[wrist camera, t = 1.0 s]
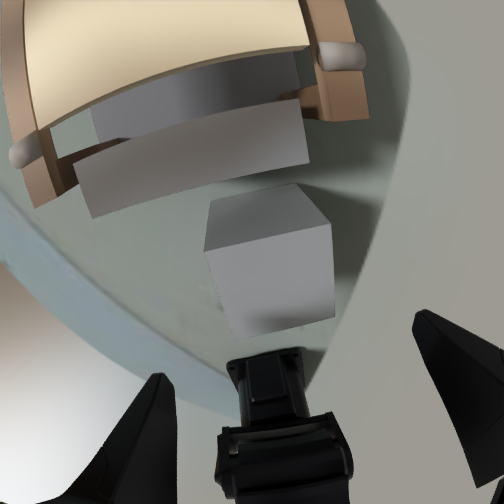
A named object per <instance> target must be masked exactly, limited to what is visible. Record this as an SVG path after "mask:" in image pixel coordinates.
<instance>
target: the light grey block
mask: <svg viewBox="0 0 504 504" xmlns="http://www.w3.org/2000/svg"><path fill="white" fill-rule="evenodd" d="M204 254H205V257H206V260H207V263H208V266H209V269H210V272H211V275H212V278H213V281H214V284H215V287H216V290H217V293H218V295H219V298H220V301H221V304H222V307H223V310H224V312H225V315H226V318H227V321H228V323H229V326H230V329H231V332H232V334H233V337H234V340H237V339H242V338H248V337H252V336H257V335H262V334H267V333H271V332H276V331H280V330H285V329H289V328H293V327H297V326H301V325H305V324H309V323H313V322H317V321H321V320H325V319H329V318H332V317H335V285H334V262H333V245H332V230H331V223H330V222H329V221H328V219H327V218H326V217H325V216H324V215H323V214H322V212H321V211H320V210H319V209H318V208H317V207H316V206H315V204H314V203H313V202H312V201H311V200H310V199H309V198H308V197H307V195H306V194H305V193H304V192H303V191H302V190H301V189H300V188H299V187H298V186H297V184H296V183H293V184H288V185H283V186H278V187H273V188H268V189H263V190H259V191H254V192H250V193H245V194H241V195H236V196H232V197H228V198H224V199H219V200H215V201H211V202H210V209H209V216H208V223H207V230H206V238H205V245H204Z"/></svg>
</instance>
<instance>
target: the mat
mask: <svg viewBox="0 0 504 504" xmlns="http://www.w3.org/2000/svg"><path fill="white" fill-rule="evenodd" d="M298 89H301V85H300V80H299V75H298V70H297V66H296V61H295V57H294V53H293V51H291V52H281V53H272V54H264V55H257V56H251V57H245V58H239V59H234V60H229V61H224V62H219V63H215V64H210V65H206V66H202V67H198V68H194V69H191V70H187V71H183V72H180V73H177V74H173V75H170V76H167V77H164V78H161V79H158V80H155V81H152V82H149V83H146V84H143V85H141V86H138V87H135V88H133V89H130V90H128V91H125V92H123V93H120V94H118V95H115V96H113V97H111V98H108V99H106V100H104V101H102V102H100V103H97V104H95V105H93V106H91V107H90V109H91V113H92V117H93V121H94V125H95V128H96V132H97V136H98V139H99V143H103V142H106V141H109V140H112V139H116V138H119V142H120V143H123V142H125V141H128V140H131V139H133V138H136V137H139V136H142V135H145V134H147V133H150V132H153V131H156V130H159V129H163V128H166V127H169V126H172V125H176V124H179V123H182V122H186V121H189V120H193V119H197V118H201V117H204V116H208V115H212V114H217V113H221V112H225V111H230V110H234V109H239V108H244V107H249V106H254V105H260V104H265V103H271V102H278V101H281V98H280V95H281V94H284V93H287V92H291V91H294V90H298Z"/></svg>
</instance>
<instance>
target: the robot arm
mask: <svg viewBox="0 0 504 504" xmlns="http://www.w3.org/2000/svg"><path fill="white" fill-rule="evenodd" d="M412 333H413V336H414V338H415V340H416V343H417V345H418V348H419V350H420V353H421V355H422V358H423V360H424V363H425V365H426V368H427V370H428V372H429V374H430V376H431V378H432V380H433V382H434V384H435V386H436V388H437V390H438V392H439V394H440V396H441V398H442V400H443V403H444V405H445V407H446V409H447V412H448V414H449V416H450V418H451V420H452V423H453V425H454V427H455V430H456V432H457V435H458V437H459V440H460V443H461V445H462V448H463V449H464V453H465V456H466V459H467V462H468V464H469V467H470V470H471V473H472V476H473V479H474V482H475V485H476V488H479V487H481V486H483V485H485V484H487V483H489V482H491V481H493V480H495V479H497V478H498V477H500V476H502V475H504V350H503V349H501V348H500V349H499V348H498V347H497V346H495V345H493V344H492V343H489V342H488V341H486V340H484V339H482V338H480V337H479V336H477V335H475V334H473V333H471V332H469V331H467V330H465V329H464V328H462V327H460V326H458V325H456V324H454V323H452V322H451V321H449V320H447V319H445V318H443V317H441V316H439V315H437V314H435V313H433V312H431V311H429V310H427V309H423V310H421V311H418V312H417V313H416V314H415V318H414V322H413V326H412ZM226 368H227V371H228V373H229V375H230V377H231V379H232V381H233V384H234V386H235V388H236V390H237V392H238V394H239V403H240V415H241V427H229V426H227V427H222V434H220V435H218V436H217V443H218V455H217V462H216V468H215V476H214V478H215V482H217V483H218V484H219V485H220V486H222V490H223V491H224V493H225V497H226V498H227V499H235V502H236V504H350V502H349V489H348V484H349V480H350V479H352V477H353V472H354V465H353V458H352V454H351V451H350V448H349V445H348V443H347V441H346V439H345V437H344V435H343V433H342V431H341V429H340V427H339V425H338V423H337V421H336V419H335V417H334V415H333V412H332V411H331V412H327V413H325V414H322V415H317V416H312V417H311V416H310V412H309V408H308V405H307V401H306V397H305V393H304V389H303V388H305V381H304V373H303V365H302V356H301V352H300V349H298V348H294V349H289V350H285V351H281V352H276V353H271V354H267V355H262V356H257V357H252V358H247V359H241V360H236V361H230V362H228V363H227V364H226ZM237 451H238V453H237ZM0 504H6V503H4V502H0ZM37 504H177V416H176V403H175V390H174V386H173V384H172V383H171V382H170V380H169V379H168V378H167V376H166V375H165V374H164V373H162V372H161V373H153V374H152V375H151V376H150V377H149V379H148V380H147V382H146V383H145V385H144V386H143V388H142V389H141V390H140V392H139V393H138V395H137V396H136V397H135V399H134V400H133V402H132V403H131V405H130V406H129V407H128V409H127V410H126V412H125V413H124V415H123V416H122V418H121V419H120V420H119V422H118V423H117V425H116V426H115V428H114V429H113V431H112V432H111V433H110V435H109V436H108V438H107V439H106V441H105V442H104V444H103V447H101V448H100V449H99V451H98V452H97V454H96V455H95V456H94V458H93V459H92V461H91V462H90V463H89V465H88V466H87V467H86V468H85V470H84V471H83V472H82V473H81V474H80V476H79V477H78V478H77V479H76V480H75V481H74V482H73V483H72V485H71V486H70V487H69V488H68V489H67V490H66V491H65V492H64V493H63V494H62V495H60V496H59V497H56V498H54V499H51V500H48V501H44V502H41V503H37ZM490 504H504V477H503V478H502V479H500V480H499V482H498V485H497V488H496V491H495V493H494V496H493V498H492V501H491V503H490Z"/></svg>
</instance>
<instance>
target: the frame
mask: <svg viewBox="0 0 504 504" xmlns="http://www.w3.org/2000/svg"><path fill="white" fill-rule="evenodd" d="M298 3H299V6H300V9H301V13H302V17H303V20H304V24H305V28H306V31H307V35H308V39H309V43H310V45H309V46H310V50H311V55H312V59H313V64H314V68H315V73H316V78H317V83H318V84H317V85H313V86H309V87H305V88H302V89H298V90H294V91H291V92H287V93H284V94H281V95H280V98H281V101H285V100H292V99H299V103H300V108H301V113H302V118H308V119H316V120H324V121H331V122H338V121H348V120H359V119H370V118H369V110H368V103H367V97H366V91H365V85H364V79H363V74H362V70H363V69H364V68H365V66H366V61H367V59H366V52H365V50H364V48H363V46H362V45H361V44H360V43H358V42H356V41H355V37H354V33H353V29H352V25H351V22H350V18H349V15H348V11H347V8H346V5H345V1H344V0H298ZM24 13H25V0H2V8H1V25H0V26H1V27H0V52H1V69H2V80H3V89H4V96H5V103H6V109H7V114H8V120H9V125H10V129H11V134H12V138H13V142H14V145H13V146H12V147H11V148H10V151H9V159H10V162H11V164H12V165H13V167H15V168H17V169H20V168H21V171H22V174H23V177H24V180H25V183H26V186H27V189H28V192H29V195H30V198H31V200H32V203H33V206H34V208H37V207H39V206H41V205H43V204H45V203H47V202H49V201H51V200H53V199H55V198H57V197H59V196H60V195H62V194H63V193H65V192H66V191H68V190H70V189H71V188H73V187H74V186H76V185H77V184H79V181H78V179H77V176H76V173H75V169H74V166H73V164H74V163H76V162H78V161H80V160H82V159H84V158H87V157H89V156H91V155H93V154H96V153H98V152H100V151H103V150H105V149H108V148H110V147H112V146H115V145H117V144H120V142H119V138H116V139H112V140H109V141H106V142H103V143H100V144H97V145H94V146H91V147H89V148H86V149H83V150H80V151H78V152H75V153H72V154H70V155H67V156H65V157H62V158H60V159H58V157H57V154H56V151H55V147H54V144H53V140H52V136H51V132H50V128H46V129H42V130H39V129H38V125H37V121H36V116H35V111H34V106H33V101H32V96H31V90H30V83H29V76H28V68H27V59H26V47H25V23H24Z"/></svg>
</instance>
